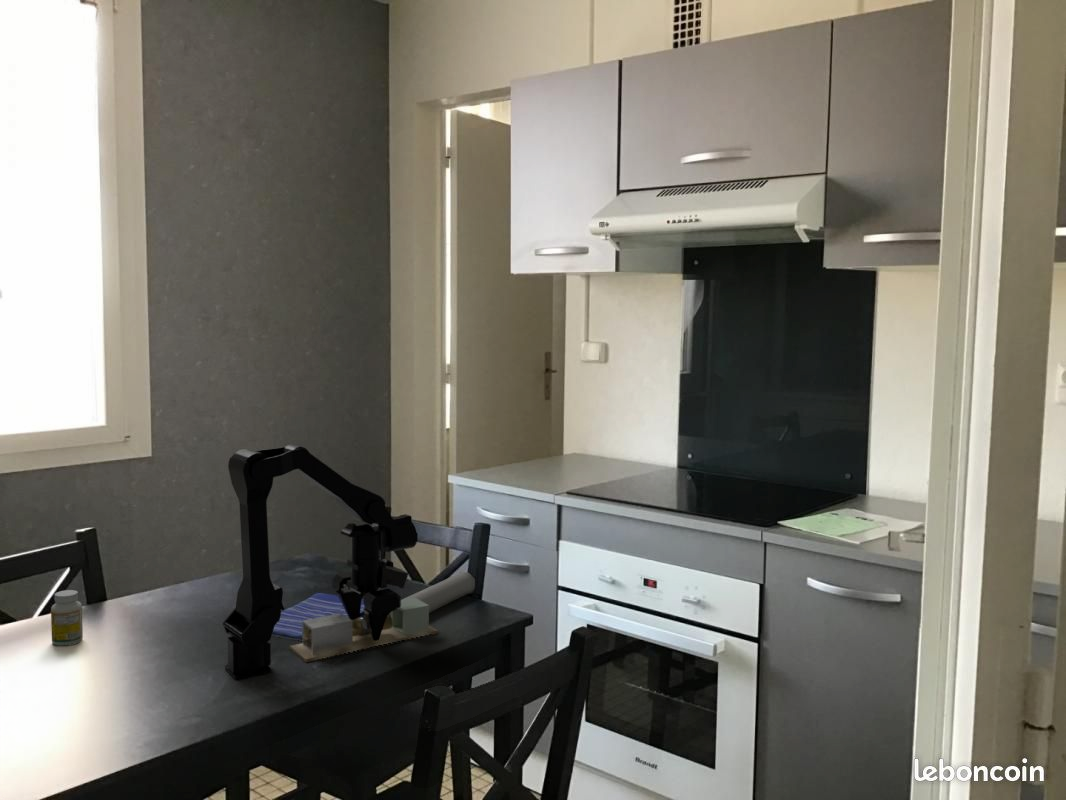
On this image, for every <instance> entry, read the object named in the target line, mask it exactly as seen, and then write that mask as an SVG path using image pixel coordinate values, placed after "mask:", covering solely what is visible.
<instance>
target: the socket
mask: <svg viewBox="0 0 1066 800" xmlns="http://www.w3.org/2000/svg"><path fill="white" fill-rule="evenodd" d="M403 599H404V598H403ZM390 615H391V618H392V628H393V629H395V630H396V631H398V632H400V633H401V634H403V635H404V636H405V635H409V634H414V633H419V632H423V631H428V630H429V626H430V620H429V619H430V613H429V605H427V604H426V603H424V602H422V601H420V600H418V599H416V598H409V599H404V600H402V599H401V607H400V608H397V609H396V610H394V611H392V612H390Z"/></svg>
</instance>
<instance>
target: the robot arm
mask: <svg viewBox="0 0 1066 800" xmlns="http://www.w3.org/2000/svg"><path fill="white" fill-rule="evenodd" d="M227 469H228V472H229V477H230V482H231V485H232V487H233V489H234V490H233V491H234V492H235V495H236V497H237V499H238V503H239V517H240V518H239V521H240V539H241V540H240V541H241V560H242V580H241V583H240V585H239V588H238V590H237V595H236V602H235V608H234V609H233V610H232V611H231V612H230V614H229V615H228V616H227V617H226V619H225V620H224V621H223V623H222V626H223V629H224V631H225V633H226V634H227V635H229V636H228V637H227V664H225V665H224V669H225V670H226V671H227V672H228V673H229V674H230V675H231V676H232V677H233V679H235V680H241V679H245V678H249V677H253V676H258V675H262V674H267V673H271V672H272V668H271V663H272V659H271V658H272V657H271V656H272V653H271V650H272V649H271V647H272V646H271V645H272V643H270V642H269V641H271V638H272V637H273V636H272V632H273V629H274V626H275V625H276V623H277V622H278V621H279V620H280V617H281V612H282V611H284V610H285V607H284V605H283V593H284V591H283V590H284V589H283V587H282V586H281V585H278V584H276V583H274V582H273V581H272V579H271V572H270V571H271V569H270V566H271V565H270V550H269V549H270V548H269V528H268V527H269V525H268V508H267V507H268V505H267V503H268V498H269V496H270V494H271V490H272V489H273V484H274V478H276V477H281V476H283V475H286V474H288V473H290V472H292V471H296V472H297V473H299V474H300V475H302V476H303V477H304V478H305V479H308V480H309V481H311V482H312V484H314V485H316V486H318V488H320V489H322V490H323V491H324V492H326V493H328V494H329V495H331V496H332V497H333V498H334V499H335V501H337V503H338V505H339V507H340V508H341V509H342V510H343V511H344V512H345V513H346V514H347V515H348V516H349V517H350V518H352V519H354V520H358V521H360V522H361V523H363V524H356V523H353V522H351V521H349V522H348V523H347V525H345V526H344V527H343V528H342V529H341V530H340V534H341V535H343V536H345V537H348V538H350V559H347V560H346V566H348V567H350V571H348V572H347V571H346V572H342V573H340V572H339V573H337V574H335V575H334V577H333V578H332V589H333V590H335V594H336V596H338V597H339V599H340V601H341V603H342V605H343V607H344V609H345V611H346V613H347V615H348V617H349V619H351V620H354V619H356V618H359V617H360V610H361V600H362V599H364V606H365V608H364V609H363V610H364V613H365V617H366V620H367V623H368V626H369V629H370V633H371V635H372V638H373V640H374V641H376V640H379V638H380V635H381V632H382V629H383V626H384V623H385V620H386V618H387V616H388V614H391V612H392V611H394V610H396V609H397V608H400V607H401V600H402V596H401V595H400V594H399V593H397V592H396V591H394V590H392V589H390V588H387V587H388V585H389V586H394V587H398V588H400V589H404V588H405V585H406V583H407V579H408V576H409V573H408V571H404V570H403V569H401V568H398V567H396V566H394V562H393V561H392V560H389V559H387V558H383V559H382V558H381V553H382V550H383V551H385V552H387V553H389V552H395V551H396V552H397V551H402V550H407V549H412V548H414V547H416V545H417V542H418V535H419V534H418V532H417V529H416V527H415V524H414V523H413V521H412V519H413V518H412V516H411V515H410V514H400V515H398V516H393V517H392V516H391V514H390V512H389V511H388V510H387V508H386V500H385V499H384V497H382V496H381V495H379V494H377V493H375V492H373V491H370V490H368V489H365V488H363V487H361V486H358V485H356V484H354V483H352V482H351V481H349V480H348V479H347V478H345V477H344V476H342V475H341V474H339V473H338V472H337V471H335V470H334V469H332V468H331V467H330V466H329V465H327V464H326V463H325V462H323V461H321V460H320V459H319V458H318V457H316V456H314V454H312V453H311V452H310V451H309V450H308V449H307V448H306V447H304V446H300V445H296V444H288V445H285V446H280V447H273V448H271V447H270V448H265V449H259V450H258V449H257V450H253V449H249V448H242V449H240V450H236V452H234V453H233V455H232V456H230V458H229V460H228V466H227ZM373 524H376V525H377V526H372V525H373ZM381 549H382V550H381ZM379 588H380V589H379Z"/></svg>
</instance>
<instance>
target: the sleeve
mask: <svg viewBox="0 0 1066 800" xmlns="http://www.w3.org/2000/svg"><path fill="white" fill-rule="evenodd" d="M310 629H311V630H312V643H311V641H310V637H309V631H310ZM301 643H302V646H303V647H304V648H305V649H307V650H308V651H309V652H310V653H312V654H313V655H314V654H318V653H323V652H327V651H332V650H337V649H341V648H346V647H350V646H353V621H352V620H351V619H349V618H348V617H346V616H345V615H343V614H342V613H340V614H334V615H329V616H324V617H319V618H314V619H308V620H303V621H302V641H301Z"/></svg>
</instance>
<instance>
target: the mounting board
mask: <svg viewBox="0 0 1066 800" xmlns="http://www.w3.org/2000/svg"><path fill="white" fill-rule="evenodd" d="M437 632H439V630H438V629H436V628H435V627H432V626H431V625H429V630H428V631H423V632H419V633H414V634H409V635H405V636H404V635H403V634H401V633H400V632H398V631H396V630H395V629H393V628H391V629H387V630H383V631H382V632H381V635H380V638H379V640H376V641H374V640H373V638H372V635H371V634H369V635H364V636H354V637H353V646H350V647H346V648H341V649H337V650H332V651H327V652H323V653H318V654H314V655H313V654H312V653H310V652H309V651H308V650H307V649H305V648H304V647H303V646H302V642H301V643H296V644H292V645H289V650H290V651H291V652H293V653H294V654H295V655H296V656H297V657H298V658H299V659H301V660H302V661H303V662H305V663H309V662H313V661H317V660H318V659H319V660H323V659H327V657H328V658H332V657H336V656H335V655H337V656H341V655H345V654H344V653H346V654H349V653H348V652H350V653H354V652H353V651H355V652H358V651H357V650H359V651H362V650H361V649H364V650H366V649H365V648H369V649H371V648H370V647H373V646H378V645H382V646H384V645H383V644H387V645H389V644H388V643H391V644H393V643H392V642H396V641H400V642H402V641H401V640H405V641H407V640H406V639H409V640H412V639H411V638H414V639H417V638H416V637H418V638H421V637H420V636H423V637H425V635H427V636H430V635H429V634H432V635H434V634H433V633H436V634H438V633H437ZM396 643H397V642H396ZM378 647H379V646H378ZM373 648H374V647H373ZM340 654H341V655H340ZM331 656H332V657H331ZM322 658H323V659H322ZM319 660H318V661H319Z"/></svg>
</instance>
